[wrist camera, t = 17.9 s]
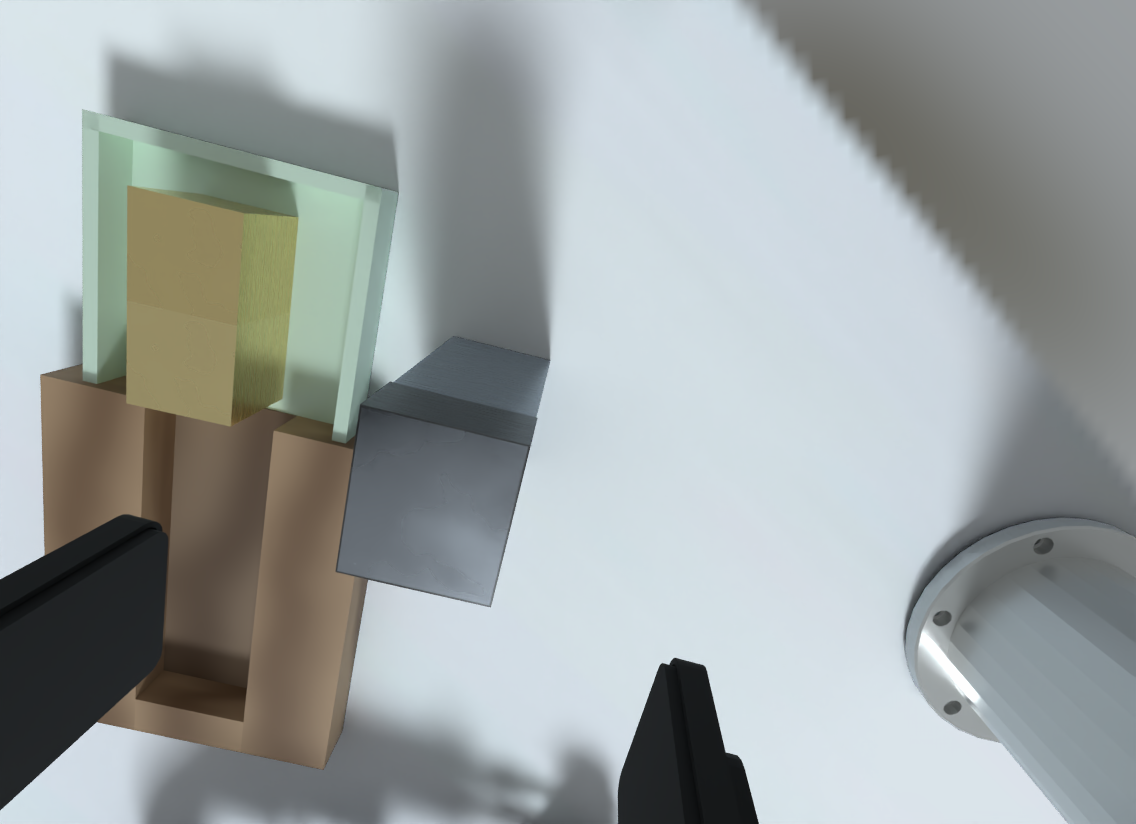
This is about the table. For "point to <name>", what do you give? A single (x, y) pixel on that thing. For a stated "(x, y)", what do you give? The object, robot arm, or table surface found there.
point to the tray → (321, 271)
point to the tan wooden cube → (208, 256)
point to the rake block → (441, 471)
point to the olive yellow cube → (204, 364)
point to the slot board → (219, 562)
